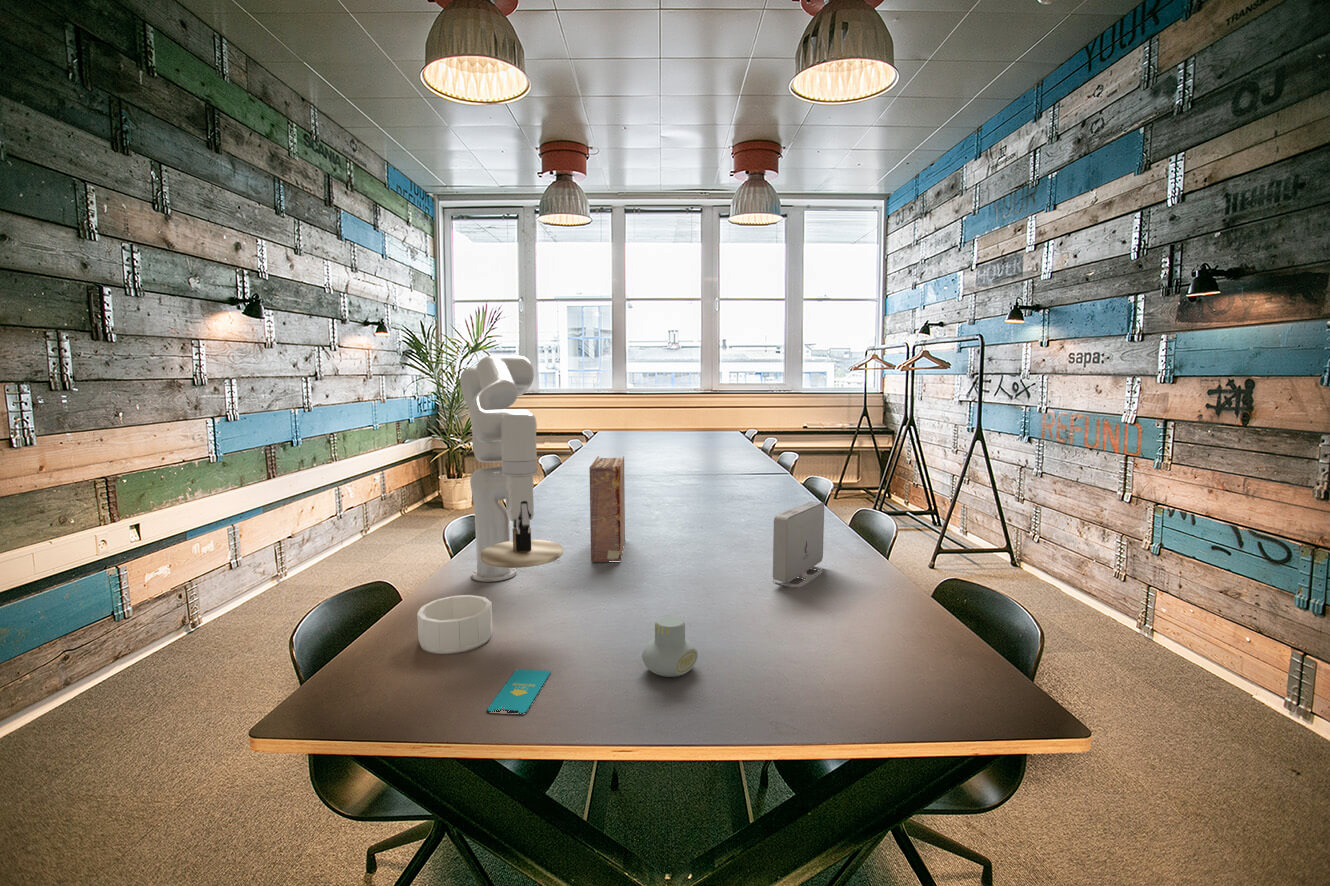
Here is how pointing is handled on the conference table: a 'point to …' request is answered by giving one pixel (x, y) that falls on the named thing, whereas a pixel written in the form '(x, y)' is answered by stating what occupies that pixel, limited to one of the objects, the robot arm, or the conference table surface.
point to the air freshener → (669, 649)
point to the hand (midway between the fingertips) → (522, 547)
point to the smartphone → (519, 691)
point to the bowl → (455, 624)
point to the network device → (798, 543)
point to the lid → (521, 553)
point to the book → (607, 509)
